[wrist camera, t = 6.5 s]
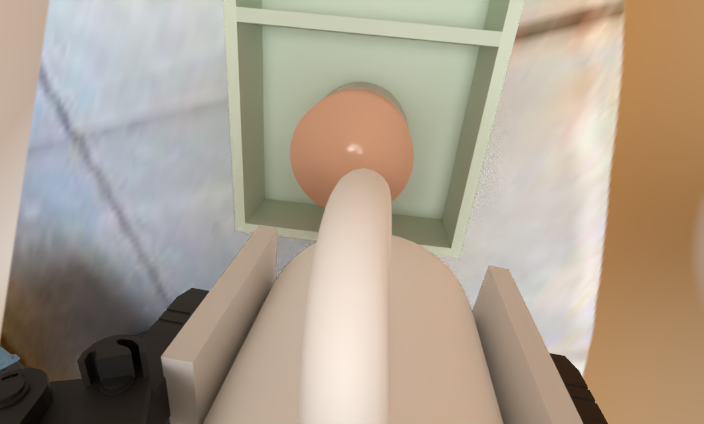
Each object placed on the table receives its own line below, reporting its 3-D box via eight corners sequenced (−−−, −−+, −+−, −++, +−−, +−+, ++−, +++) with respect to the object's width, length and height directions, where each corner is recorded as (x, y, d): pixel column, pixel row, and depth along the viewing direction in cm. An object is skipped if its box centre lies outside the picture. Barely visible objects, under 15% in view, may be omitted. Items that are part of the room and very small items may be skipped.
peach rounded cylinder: (312, 170, 31) (289, 208, 24) (316, 77, 28) (290, 88, 21) (400, 180, 31) (403, 221, 24) (414, 87, 28) (423, 101, 20)
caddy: (259, 202, 34) (235, 231, 29) (248, -277, 21) (202, -384, 16) (447, 224, 33) (459, 258, 28) (557, -259, 20) (616, -365, 15)
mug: (258, 120, 13) (-134, 347, 3) (504, 130, 12) (902, 465, 3) (281, 367, 18) (155, 727, 8) (453, 386, 17) (522, 802, 8)
